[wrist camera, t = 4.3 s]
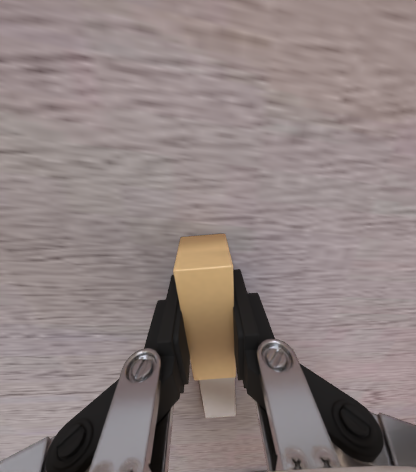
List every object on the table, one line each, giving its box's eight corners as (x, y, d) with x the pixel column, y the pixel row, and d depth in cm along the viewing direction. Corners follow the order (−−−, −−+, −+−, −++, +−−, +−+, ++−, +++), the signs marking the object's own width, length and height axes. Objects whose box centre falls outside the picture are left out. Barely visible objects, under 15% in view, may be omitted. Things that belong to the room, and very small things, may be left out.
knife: (176, 236, 10) (167, 270, 7) (229, 232, 10) (238, 265, 7) (205, 411, 17) (205, 458, 14) (235, 409, 17) (240, 455, 14)
